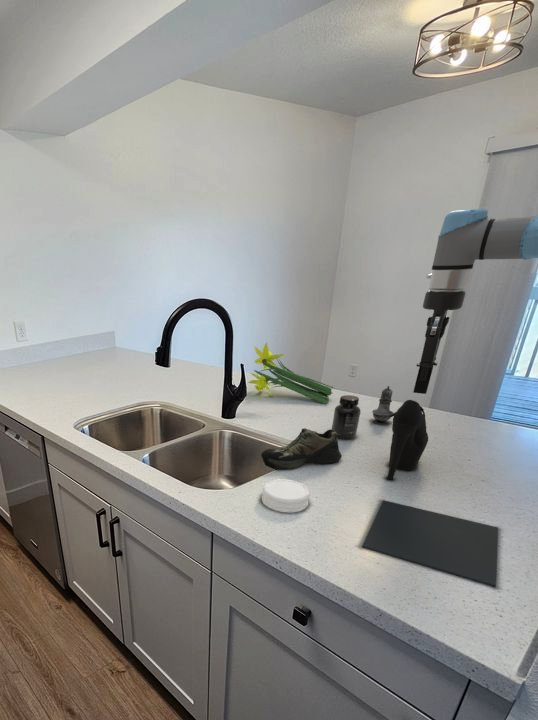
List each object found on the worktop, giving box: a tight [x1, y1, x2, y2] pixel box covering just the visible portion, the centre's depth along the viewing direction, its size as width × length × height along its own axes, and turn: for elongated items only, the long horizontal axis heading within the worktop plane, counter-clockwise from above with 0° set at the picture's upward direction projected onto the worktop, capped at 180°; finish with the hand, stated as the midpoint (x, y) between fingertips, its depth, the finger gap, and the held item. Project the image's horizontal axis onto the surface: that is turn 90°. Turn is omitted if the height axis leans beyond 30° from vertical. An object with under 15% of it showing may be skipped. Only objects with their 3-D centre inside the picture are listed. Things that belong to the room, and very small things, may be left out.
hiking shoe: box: [260, 428, 343, 471], centre depth 114 cm, size 8×21×9 cm, turn 99°
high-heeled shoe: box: [386, 399, 429, 481], centre depth 105 cm, size 8×19×20 cm, turn 136°
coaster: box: [261, 478, 311, 514], centre depth 97 cm, size 10×10×4 cm
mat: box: [361, 499, 499, 588], centre depth 83 cm, size 20×20×1 cm
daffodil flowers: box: [247, 342, 336, 405], centre depth 164 cm, size 17×15×35 cm
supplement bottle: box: [330, 394, 361, 441], centre depth 127 cm, size 7×7×12 cm
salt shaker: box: [371, 385, 394, 426], centre depth 135 cm, size 6×6×12 cm
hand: (419, 392), depth 108 cm, fingers closed
